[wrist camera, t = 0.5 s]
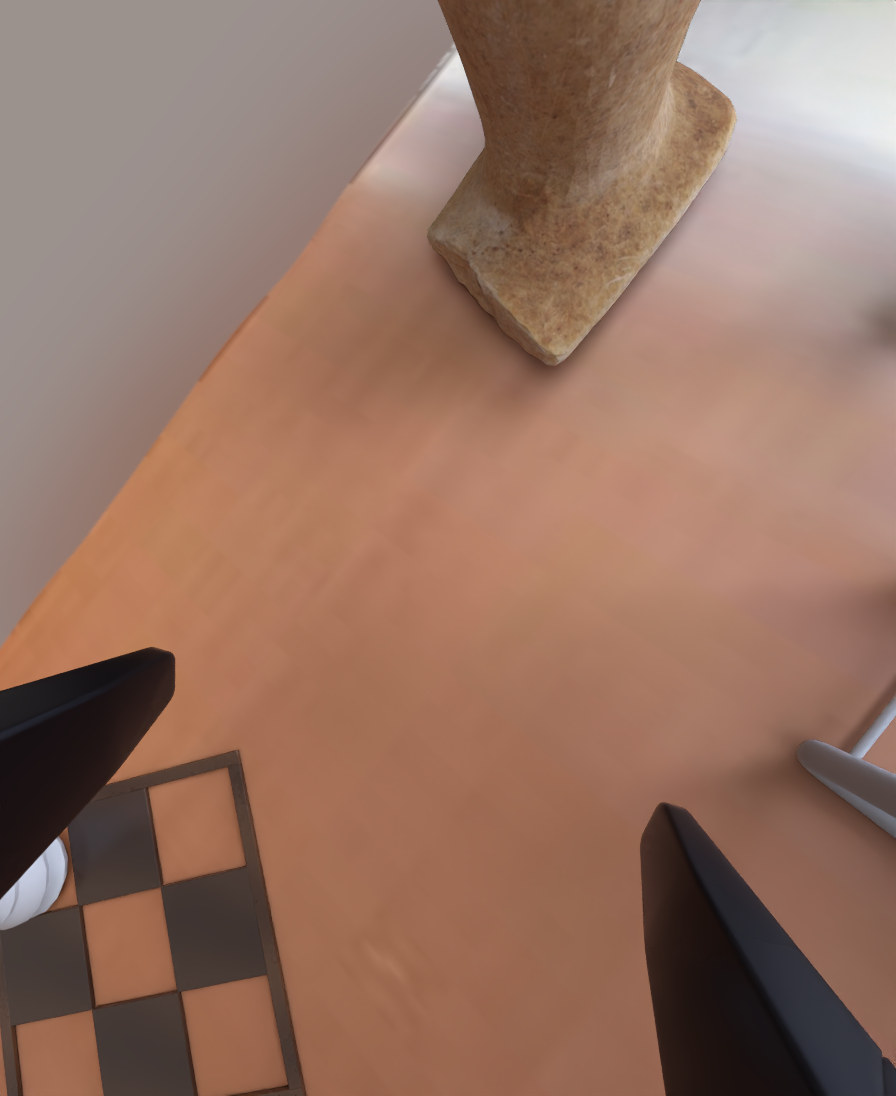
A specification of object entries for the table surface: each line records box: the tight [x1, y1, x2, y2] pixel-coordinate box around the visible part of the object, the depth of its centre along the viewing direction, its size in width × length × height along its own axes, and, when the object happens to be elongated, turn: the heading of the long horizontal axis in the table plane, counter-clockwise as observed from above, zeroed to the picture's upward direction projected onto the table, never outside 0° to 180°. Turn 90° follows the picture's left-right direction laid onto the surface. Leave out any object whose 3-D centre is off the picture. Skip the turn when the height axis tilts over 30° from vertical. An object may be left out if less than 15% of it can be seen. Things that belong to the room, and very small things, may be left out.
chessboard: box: [0, 750, 306, 1096], centre depth 24 cm, size 15×15×1 cm
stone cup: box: [427, 0, 737, 366], centre depth 18 cm, size 15×12×15 cm
